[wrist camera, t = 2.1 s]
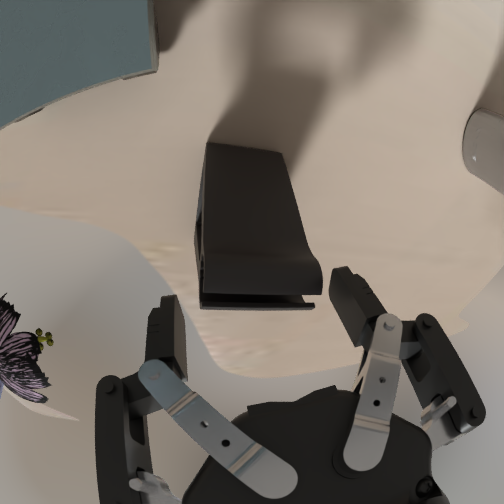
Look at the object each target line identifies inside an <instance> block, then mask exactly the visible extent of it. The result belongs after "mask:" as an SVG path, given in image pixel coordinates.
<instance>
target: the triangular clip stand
mask: <svg viewBox="0 0 504 504" xmlns="http://www.w3.org/2000/svg"><path fill="white" fill-rule="evenodd" d="M194 246H195V254H196V263H197V271H198V279H199V303H200V309H206V310H259V311H271V310H312V309H314V308H315V304H314V303H305V302H304V300H303V298H302V295H321V294H322V288H323V276H322V270H321V267H320V264H319V262H318V260H317V259H316V258H315V257H314V256H313V254H312V252H311V251H310V248H309V246H308V243H307V240H306V236H305V232H304V228H303V225H302V221H301V217H300V214H299V210H298V206H297V203H296V199H295V196H294V192H293V189H292V185H291V182H290V179H289V175H288V172H287V169H286V165H285V162H284V159H283V156H282V153H278V152H272V151H266V150H260V149H253V148H247V147H240V146H232V145H225V144H216V143H206V149H205V156H204V162H203V169H202V177H201V184H200V192H199V200H198V208H197V217H196V226H195V235H194Z"/></svg>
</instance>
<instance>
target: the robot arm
mask: <svg viewBox="0 0 504 504" xmlns="http://www.w3.org/2000/svg"><path fill="white" fill-rule="evenodd" d="M463 157H464V162H465V165H466V167H467V169H468V170H469V172H470V173H472V174H473V175H475V176H477V177H478V178H480V179H481V180H483V181H484V182H486V183H487V184H489V185H490V186H492V187H493V188H494V189H496V190H497V191H499V192H500V193H501V194H503V195H504V116H502V115H500V114H497V113H495V112H492V111H490V110H487V109H479V110H477V111H476V112H475V113H474V114H473V115H472V116H471V118H470V120H469V122H468V124H467V127H466V130H465V134H464V140H463ZM329 297H330V300H331V302H332V304H333V306H334V308H335V310H336V312H337V313H338V315H339V317H340V319H341V321H342V323H343V325H344V327H345V329H346V331H347V333H348V335H349V337H350V339H351V340H352V342H353V344H354V346H355V347H358V346H361V345H362V346H363V348H364V350H363V353H362V357H361V360H360V364H359V368H358V371H357V375H356V378H355V381H354V384H353V386H352V388H351V391H347V390H337V388H336V386H335V385H333V386H330V387H326V388H323V389H320V390H316V391H313V392H312V393H310V394H308V395H306V396H304V397H302V398H300V399H299V400H297V401H294V402H266V403H261V404H256V405H250V406H247V409H248V411H247V412H245V413H242V414H241V415H239V416H237V417H236V418H235V419H233V420H232V421H231V422H229V421H228V420H227V419H226V418H225V417H224V416H222V415H221V414H220V413H219V412H218V411H217V410H215V409H214V408H213V407H212V406H211V405H210V404H209V403H208V402H206V401H205V400H204V399H203V398H202V397H201V396H200V395H199V394H197V393H196V392H193V391H192V390H191V389H190V388H189V387H188V386H186V385H185V383H183V382H186V381H188V376H187V358H186V335H185V320H184V316H183V313H182V310H181V307H180V304H179V301H178V298H177V295H168V296H162V297H161V303H160V307H158V308H153V309H152V311H151V313H150V315H149V316H148V327H147V338H146V351H145V362H144V364H142V366H141V367H140V369H139V371H138V372H136V373H135V374H133V375H130V376H128V377H125V378H122V379H120V378H118V377H117V376H113V375H108V376H105V377H103V378H102V379H101V380H100V381H99V383H98V384H97V388H96V406H95V407H96V408H95V450H96V451H95V453H96V470H97V482H98V491H99V500H100V504H450V503H449V500H448V498H447V497H446V495H445V494H444V493H443V492H442V490H441V489H440V488H439V487H438V485H437V484H436V482H435V481H434V479H433V477H432V471H431V458H432V451H434V450H435V449H437V448H439V447H440V446H442V445H448V444H449V443H451V442H453V441H454V440H457V439H458V438H460V437H462V436H463V435H465V434H467V433H468V432H470V431H471V430H473V429H474V428H476V427H477V426H479V425H480V424H482V423H483V421H484V419H485V415H486V410H485V406H484V404H483V402H482V400H481V398H480V396H479V394H478V392H477V390H476V388H475V386H474V384H473V382H472V380H471V378H470V376H469V374H468V372H467V370H466V368H465V367H464V365H463V363H462V361H461V359H460V358H459V356H458V354H457V352H456V351H455V349H454V347H453V346H452V344H451V342H450V341H449V339H448V337H447V336H446V334H445V332H444V331H443V329H442V328H441V326H440V324H439V323H438V321H437V320H436V319H435V317H433V316H432V315H430V314H427V313H422V314H420V315H418V316H417V318H416V320H415V321H401V320H400V319H399V318H398V317H397V316H395V315H393V314H389V313H387V311H386V310H385V308H384V307H383V305H382V304H381V302H380V301H379V299H378V298H377V297H376V295H375V294H374V293H373V291H372V289H371V288H370V287H369V285H368V283H367V282H366V281H365V279H364V278H362V277H361V276H359V275H358V274H354V275H353V273H352V272H351V270H350V269H349V267H347V266H344V267H339V268H334V269H333V270H332V274H331V280H330V286H329ZM401 363H402V365H403V367H404V369H405V370H406V373H407V375H408V377H409V379H410V381H411V384H412V386H413V388H414V390H415V392H416V395H417V397H418V399H419V402H420V404H421V406H422V408H423V411H422V413H421V421H420V424H421V426H422V429H421V428H420V427H418V426H416V425H414V424H412V423H410V422H408V421H406V420H404V419H403V418H401V417H399V416H397V415H395V414H393V413H392V410H393V406H394V401H395V397H396V392H397V387H398V381H399V375H400V369H401ZM163 408H164V410H166V412H167V413H168V414H169V415H170V416H171V417H172V418H173V419H174V420H175V421H176V423H178V425H179V426H180V427H181V428H183V430H184V431H185V432H186V433H187V434H188V435H189V436H190V437H191V438H192V439H193V440H194V441H196V442H197V443H198V444H199V445H200V446H201V447H202V448H203V449H204V450H205V451H206V452H207V453H208V454H210V455H209V456H208V458H207V459H206V461H205V463H204V464H203V466H202V467H201V469H200V470H199V472H198V473H197V475H196V477H195V478H194V479H193V481H192V482H191V484H190V485H189V487H188V489H187V490H186V491H185V493H184V495H183V498H182V499H179V498H177V497H176V496H174V495H173V494H172V492H171V491H170V489H169V486H168V484H167V482H166V481H165V480H164V479H163V478H161V477H159V476H156V475H154V474H153V469H152V462H151V455H150V446H149V437H148V427H147V414H150V413H153V412H155V411H158V410H160V409H163Z"/></svg>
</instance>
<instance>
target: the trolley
mask: <svg viewBox="0 0 504 504" xmlns="http://www.w3.org/2000/svg"><path fill="white" fill-rule="evenodd" d="M158 66H159V38H158V27H157V19H156V13H155V8H154V4H153V0H0V130H1V129H3V128H5V127H6V126H8V125H10V124H12V123H14V122H19V121H21V120H23V119H25V118H27V117H29V116H31V115H33V114H35V113H37V112H39V111H41V110H42V109H43V108H44V107H45V106H47V105H50V104H52V103H54V102H57V101H59V100H61V99H64V98H66V97H69V96H71V95H74V94H76V93H79V92H82V91H85V90H87V89H90V88H93V87H96V86H99V85H102V84H106V83H109V82H112V81H116V80H119V79H123V80H127V79H131V78H135V77H139V76H143V75H148V74H152V73H156V72H157V70H158Z"/></svg>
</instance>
